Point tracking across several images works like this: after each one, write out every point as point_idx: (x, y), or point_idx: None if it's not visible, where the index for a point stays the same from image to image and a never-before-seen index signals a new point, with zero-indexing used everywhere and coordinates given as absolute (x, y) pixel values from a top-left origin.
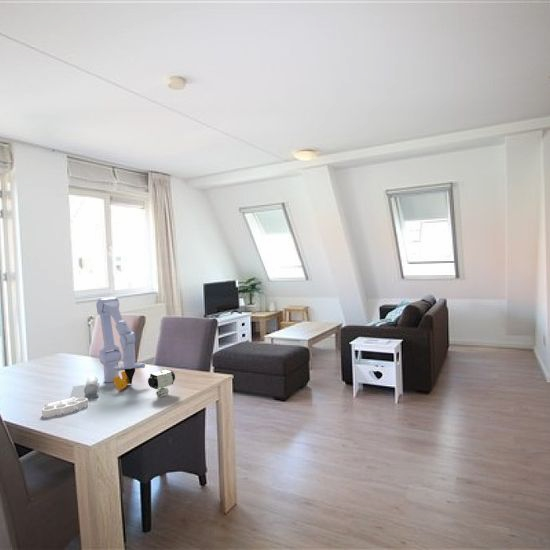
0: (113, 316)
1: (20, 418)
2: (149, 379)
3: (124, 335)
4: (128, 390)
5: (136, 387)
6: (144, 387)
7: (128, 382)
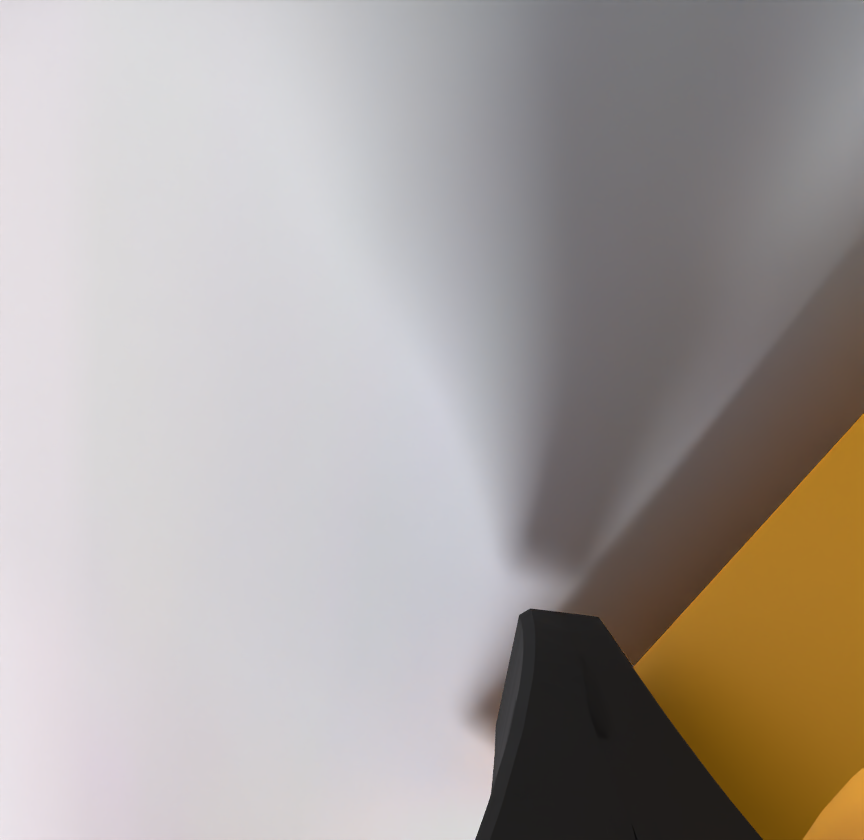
0: None
1: None
2: None
3: None
4: (764, 148)
5: (378, 367)
6: (69, 157)
7: None
